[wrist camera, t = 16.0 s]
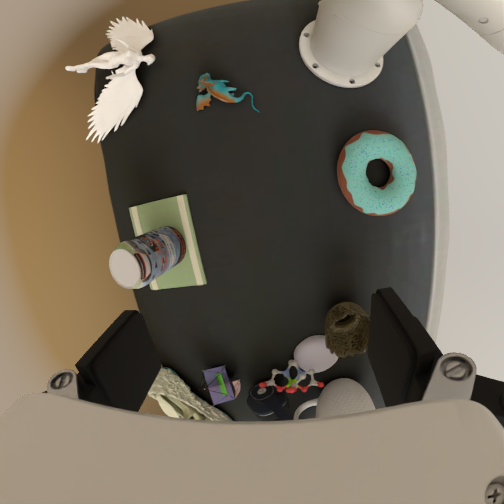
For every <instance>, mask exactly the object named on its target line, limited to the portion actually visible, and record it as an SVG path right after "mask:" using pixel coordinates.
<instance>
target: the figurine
mask: <svg viewBox="0 0 504 504" xmlns="http://www.w3.org/2000/svg"><path fill="white" fill-rule="evenodd" d="M126 19H127V20H128V21H127V20H126ZM126 19H125V18H124V17H122V21H120V20H119V19H117V18H116V20H117V21H118V23H119V24H117V23H114V22H112V21H110V22H111V24H113V26H115V28H114V27H109V28H111V29H112V30H107V31H108V32H110V34H106V35H110V36H109V37H107V38H112V39H110V40H112V41H111V42H110V43H111V45H113V46H111V47H116V48H113V49H116V50H117V51H118V52H108V53H105V54H103V55H101V56H98V57H97V58H95V59H93V60H92V61H91V62H88V63H85V64H82V65H77V66H74V67H72V66H66V70H68V71H75V70H77V73H83V72H84V73H86V72H87V70H88V69H90V68H92V67H96V68H101V69H112V68H117V67H118V66H119V64H125V65H124V66H123V67H122V68H119V69H118V70H116V74H114V73H113V72H112V71H111V72H112V75H111V76H108V77H106V79H110V78H111V79H113V80H112V81H110V82H109V84H107V85H104V86H105V87H108V88H106V89H103V90H102V93H101V94H100V97H99V98H98V100H99V101H98V102H97V103H96V104H98V105H97V106H95V107H94V108H92V110H94V109H95V110H94V111H93V112H92V113H91V114H89V115H88V116H91V115H94V116H93V117H92V118H91V119H90V120H89V121H88V122H90V121H92V120H94V121H93V122H92V123H91V125H90V126H89V127H88V129H89V128H90V127H92V126H93V125H94V124H95V126H94V127H93V129H92V130H91V131H90V133H89V135H88V137H87V139H88V138H89V137H90V136H91V135H92V133H93V132H95V131H96V130H97V132H96V134H95V136H94V137H93V140H94V139H95V137H97V136H98V135H99V138H98V143H99V141H100V139H101V138H102V136H103V134H104V133H105V134H104V136H103V138H102V140H103V139H104V138H105V136H106V135H107V134H108V133H109V131H110V130H111V129H112V128H113V127H114V126H115V125H116V126H115V130H117V128H118V126H119V124H120V122H121V120H122V119H123V120H122V123H121V126H122V124H124V123H125V121H126V119H127V117H128V116H129V114H130V113H131V111H132V110H133V108H134V107H135V105H136V108H137V105H138V103H139V101H140V98H141V96H142V93H143V88H142V86H141V84H140V83H139V81H138V79H137V77H136V74H135V69H137V68H138V67H139V65H140V63H141V62H142V61H144V62H147V64H148V65H150V64H151V63H153V62H154V60H155V56H154V55H153V54H150V55H146V56H142V52H141V50H142V49H143V48H144V47H145V46H146V45H147V44H148V43H150V42H151V41H152V40H153V39H154V35H153V32H152V29H151V31H150V30H149V28H148V27H147V26H146V25H145V23H144V22H143V21H142V25H143V26H142V25H141V24H140V23H139V21H138V19H136V21H137V23H135V22H133V21H132V20H131V19H129V18H128V17H126ZM123 117H124V118H123ZM115 130H114V132H115ZM87 139H86V140H87ZM93 140H92V141H93Z"/></svg>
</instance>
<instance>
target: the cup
mask: <svg viewBox="0 0 504 504" xmlns="http://www.w3.org/2000/svg"><path fill="white" fill-rule="evenodd" d="M369 329H370V317H369V315H368V314H367V313H366V312H365V311H364V310H363V309H362V308H361V307H360V306H359V305H357V304H355V303H352V302H338V303H336V304H335V305H334V306H333V307H332V308H331V309H330V310H329V312H328V314H327V316H326V319H325V345H326V348H327V349H329V350H330V353H331V354H333V353H335V355H336V356H337V357H343V358H345V357H346V356H348V354H349V355H350V356H352V357H354V355H355V353H358V354H361V353H364V352H365V350H366V349H367V347H368V340H369Z"/></svg>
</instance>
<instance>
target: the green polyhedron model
mask: <svg viewBox="0 0 504 504" xmlns="http://www.w3.org/2000/svg"><path fill="white" fill-rule="evenodd" d="M225 369H226V368H225V366H221V367H216V368H212V369H208V370H203V377H204V375H205V379H206V382H207V385H208V386H207V387H208V388H209V391H210V393H209V394H211V397H212V400H213V402H211V401H212V400H211V401H210V400H209V399H208V398H207V397H206V396H205V395H204V394H203V393H202V392H201V393H202V394H203V395H204V396H205V397H206V398H207V399H208V400H209V401H210V402H211V403H212V404H213V403H214V404H213V405H216V404H220V403H223V402H227V401H230V400H233V399H235V398H236V397H237V395H238V393H239V392H240V390H241V385H240V379H239V380H236V381H232V380H231V382H232V383H233V384H232V386H233V385H234V388H235V390H236V394H235V395H233V392H234V390H233V389H231V386H230V382H229V379H228V376H229V374H228V376H227V373H228V372H227V373H226V371H227V370H225ZM230 372H231V371H230ZM229 377H230V376H229ZM231 377H232V376H231ZM233 378H234V377H233ZM201 379H202V378H201ZM230 379H231V378H230ZM236 379H237V378H236ZM200 384H201V383H200ZM203 386H204V389H205V391H206V390H207V387H206V388H205V385H203ZM203 386H202V387H203ZM202 387H201V388H202ZM201 388H200V389H201ZM200 389H199V390H200ZM204 389H201V390H204ZM201 390H200V391H201ZM232 390H233V392H232ZM203 392H204V391H203ZM206 393H207V392H206ZM208 396H209V395H208ZM209 398H210V397H209Z"/></svg>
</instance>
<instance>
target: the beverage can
mask: <svg viewBox="0 0 504 504" xmlns="http://www.w3.org/2000/svg"><path fill="white" fill-rule="evenodd" d="M185 253H186V244H185V240H184V238H183V236H182V235H181V233H180V232H179V231H178V230H176V229H175V228H173V227H170V226H163V227H160V228H158V229H155V230H152V231H150V232H147V233H144V234H142V235H139V236H137V237H134V238H131V239H129V240H126V241H124V242H121V243H120V244H119V245H118V246H117V247H116V248H115V250H114V252H113V253H112V254H111V256H110V260H109V267H110V271H111V274H112V276H113V278H114V279H115V281H116V282H117V283H118V284H119V285H121V286H122V287H124V288H133V289H138V288H142V287H144V286H146V285H147V284H149V283H150V282H152V281H153V280H154V279H156V278H157V277H159V276H161V275H162V274H164V273H165V272H167V271H168V270H170V269H171V268H173V267H174V266H176V265H177V264H179V263H180V262H181V261H182V260H183V258H184V257H185Z"/></svg>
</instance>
